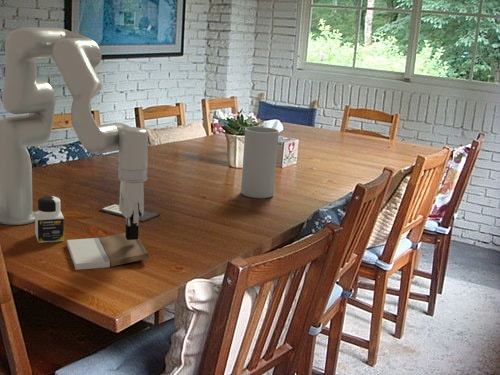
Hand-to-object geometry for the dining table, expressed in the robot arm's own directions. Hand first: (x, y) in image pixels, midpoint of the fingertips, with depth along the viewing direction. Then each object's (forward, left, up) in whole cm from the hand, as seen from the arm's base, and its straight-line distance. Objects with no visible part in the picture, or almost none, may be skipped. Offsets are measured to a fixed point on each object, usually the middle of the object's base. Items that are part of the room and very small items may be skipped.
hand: (131, 238), depth 176 cm
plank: (-2, 0, -3) cm, 4 cm away
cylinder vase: (+59, +50, -4) cm, 77 cm away
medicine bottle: (-20, +16, -4) cm, 26 cm away
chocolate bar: (+7, +35, -5) cm, 36 cm away
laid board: (-12, 0, -4) cm, 13 cm away
